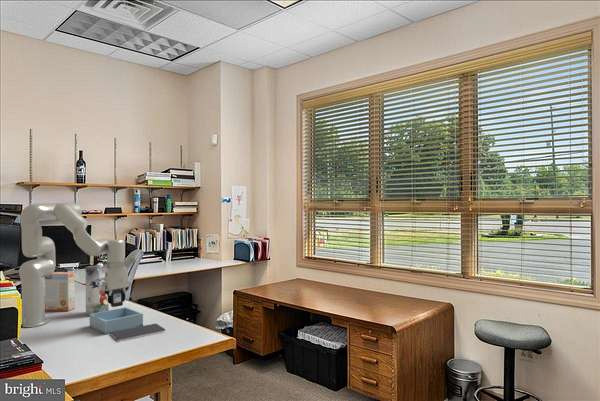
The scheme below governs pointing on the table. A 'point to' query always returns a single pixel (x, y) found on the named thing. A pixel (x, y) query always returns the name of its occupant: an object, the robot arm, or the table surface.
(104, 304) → the juice carton
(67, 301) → the cracker box
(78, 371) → the table surface
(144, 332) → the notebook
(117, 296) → the ink cartridge
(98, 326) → the bin
